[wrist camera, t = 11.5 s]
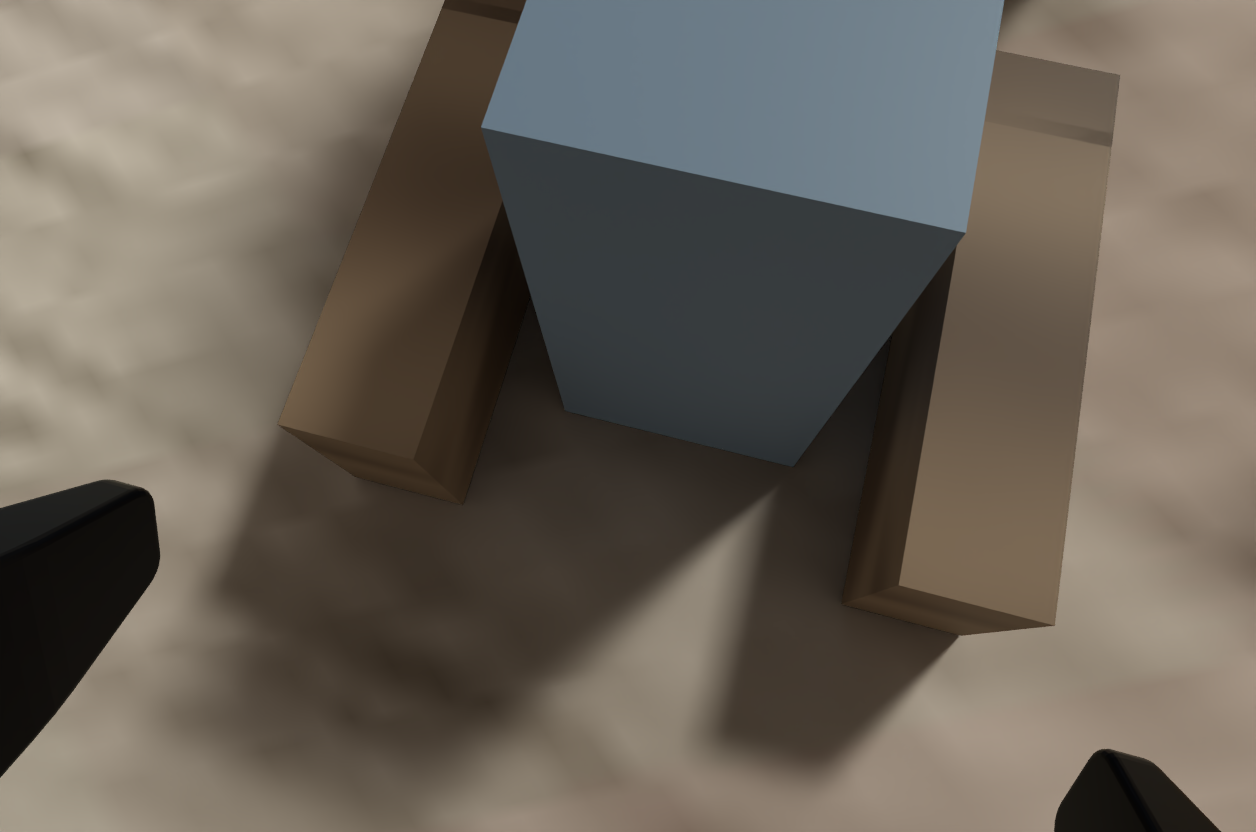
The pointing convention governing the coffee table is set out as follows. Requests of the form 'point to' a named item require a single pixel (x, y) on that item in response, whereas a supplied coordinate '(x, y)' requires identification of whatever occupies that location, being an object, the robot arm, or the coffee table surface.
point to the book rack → (916, 367)
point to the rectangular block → (734, 197)
